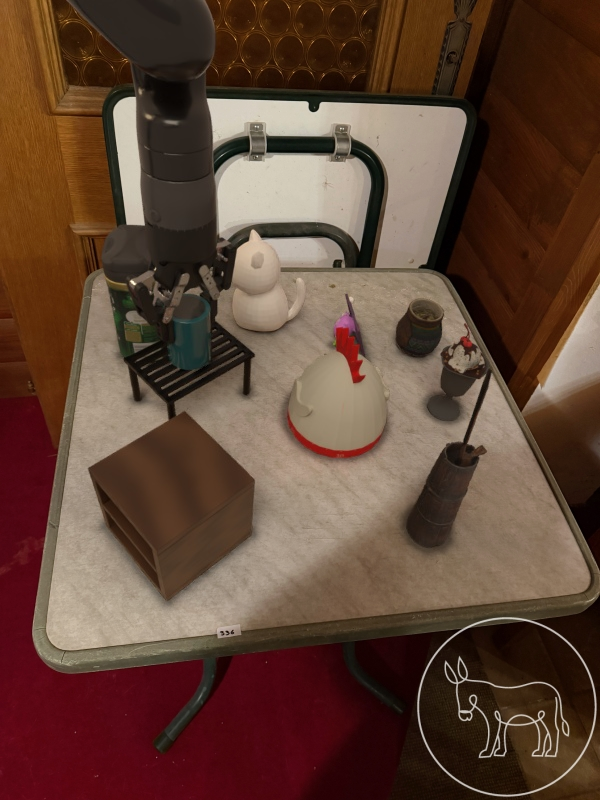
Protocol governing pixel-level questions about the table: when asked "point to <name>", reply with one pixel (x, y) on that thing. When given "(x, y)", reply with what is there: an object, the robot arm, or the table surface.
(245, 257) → the cat figurine
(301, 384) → the kitchen timer
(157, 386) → the rack
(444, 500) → the butter churn
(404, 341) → the mate gourd
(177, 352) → the cup
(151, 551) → the shelf
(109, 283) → the coffee jar
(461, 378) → the sundae
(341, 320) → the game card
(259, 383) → the table surface
